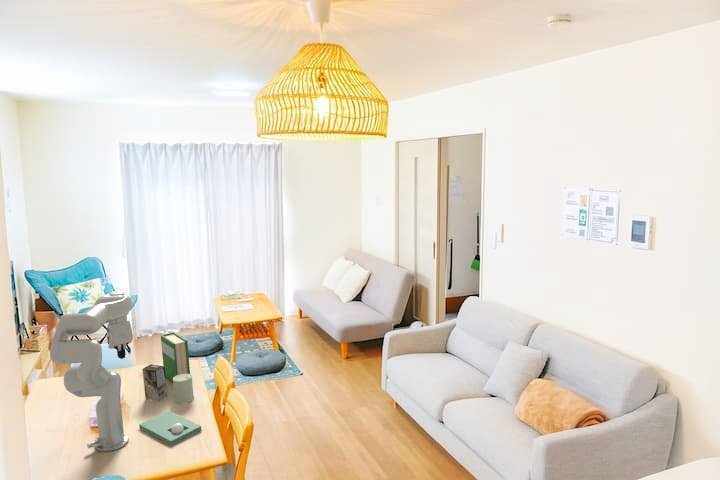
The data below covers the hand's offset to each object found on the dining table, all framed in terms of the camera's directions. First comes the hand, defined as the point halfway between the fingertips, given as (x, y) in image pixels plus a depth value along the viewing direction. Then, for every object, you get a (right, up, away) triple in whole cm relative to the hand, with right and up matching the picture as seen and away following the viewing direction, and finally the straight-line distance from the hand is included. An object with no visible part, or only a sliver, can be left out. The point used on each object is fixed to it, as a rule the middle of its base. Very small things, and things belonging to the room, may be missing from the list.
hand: (121, 357), depth 241 cm
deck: (+24, -30, -7) cm, 39 cm away
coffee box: (+7, -26, +24) cm, 36 cm away
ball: (+29, -28, -12) cm, 42 cm away
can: (+21, -26, +22) cm, 40 cm away
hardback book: (+10, -22, +44) cm, 50 cm away
